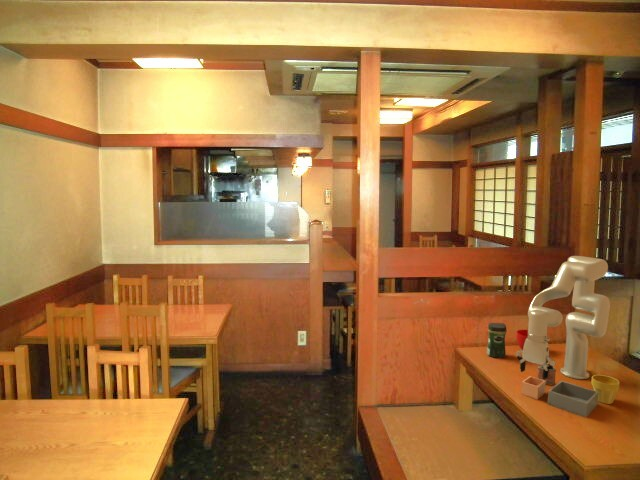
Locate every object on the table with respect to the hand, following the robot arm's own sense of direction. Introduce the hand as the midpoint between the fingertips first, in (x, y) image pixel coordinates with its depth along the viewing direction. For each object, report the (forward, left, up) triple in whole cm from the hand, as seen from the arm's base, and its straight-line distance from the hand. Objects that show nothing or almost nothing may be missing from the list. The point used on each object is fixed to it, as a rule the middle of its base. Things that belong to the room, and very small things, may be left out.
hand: (533, 374), depth 198 cm
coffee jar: (-32, -32, -10) cm, 46 cm away
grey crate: (-3, +16, -9) cm, 18 cm away
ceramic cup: (-55, -22, -10) cm, 60 cm away
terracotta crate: (-1, 0, -9) cm, 9 cm away
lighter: (-17, 0, -10) cm, 19 cm away
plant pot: (-18, +24, -10) cm, 31 cm away
